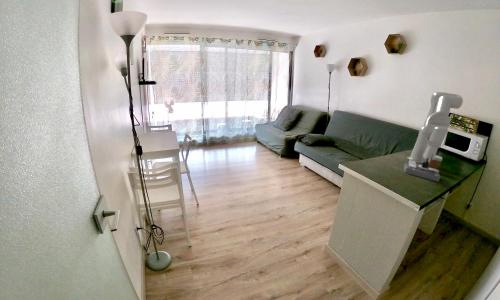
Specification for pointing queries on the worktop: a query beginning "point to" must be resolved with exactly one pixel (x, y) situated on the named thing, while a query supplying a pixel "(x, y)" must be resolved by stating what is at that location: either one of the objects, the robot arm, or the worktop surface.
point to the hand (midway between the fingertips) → (424, 167)
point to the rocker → (412, 164)
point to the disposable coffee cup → (435, 162)
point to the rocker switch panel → (422, 172)
